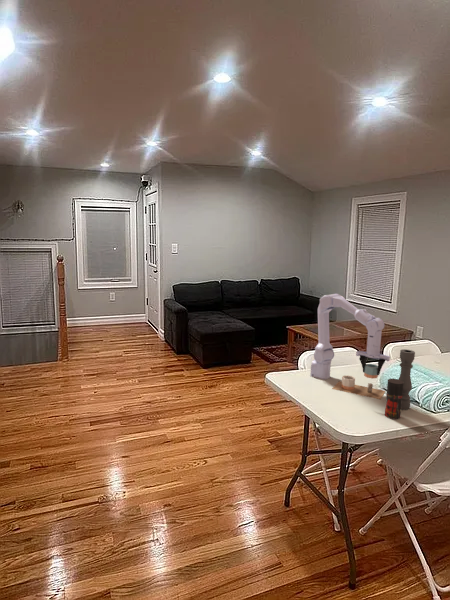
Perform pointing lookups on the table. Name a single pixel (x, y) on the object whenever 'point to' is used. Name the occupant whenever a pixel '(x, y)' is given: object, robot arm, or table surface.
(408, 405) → the candle holder
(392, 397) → the deodorant
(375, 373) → the teal sleeve
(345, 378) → the ivory sleeve
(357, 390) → the pin board
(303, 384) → the table surface
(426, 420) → the table surface
